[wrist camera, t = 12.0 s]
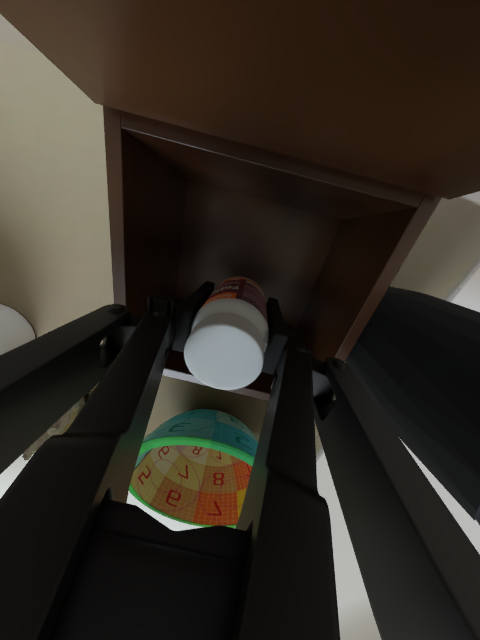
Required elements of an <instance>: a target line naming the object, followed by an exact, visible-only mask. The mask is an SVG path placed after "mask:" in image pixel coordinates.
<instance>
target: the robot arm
mask: <svg viewBox="0 0 480 640" xmlns="http://www.w3.org/2000/svg"><path fill="white" fill-rule="evenodd" d="M214 286H215V283H213V282H209V281H206V282H205V283H203V284H202V285H201V286H200V287H199V288H198V289H197V290H196V291H195V292H194V293H193V294H191V295H190V296H189V297H188V298H187V299H183V298H177V299H172V298H170V297H168V296H164V295H152V296H149V297H147V312H146V314H145V315H133V314H131V310H130V308H129V307H128V306H125V305H121V304H112V305H107V306H103V307H101V308H99V309H97V310H95V311H93V312H91V313H89V314H86V315H84V316H82V317H80V318H78V319H76V320H74V321H72V322H70V323H67V324H65V325H63V326H61V327H59V328H57V329H55V330H53V331H51V332H48V333H46V334H44V335H42V336H40V337H38V338H36V339H34V340H31V341H29V342H27V343H25V344H23V345H21V346H19V347H17V348H15V349H12V350H10V351H8V352H6V353H4V354H2V355H0V474H1V473H2V472H3V471H4V470H5V469H6V468H8V467H9V466H10V465H11V464H12V463H13V462H14V461H15V460H16V459H17V458H18V457H19V456H20V455H21V454H23V453H24V452H25V451H26V450H27V449H28V448H29V447H30V446H31V445H32V444H33V443H34V442H35V441H36V440H38V439H39V438H40V437H41V436H42V435H43V434H44V433H45V432H46V431H47V430H48V429H49V428H50V427H51V426H52V425H54V424H55V423H56V422H57V421H58V420H59V419H60V418H61V417H62V416H63V415H64V414H65V413H66V412H67V411H69V410H70V409H71V408H72V407H73V406H74V405H75V404H76V403H77V402H78V401H79V400H80V399H81V398H82V397H83V396H85V395H86V394H87V393H88V392H89V391H90V390H91V389H92V388H93V387H94V386H95V385H96V384H97V383H98V382H99V384H98V385H97V387H96V388H95V390H94V391H93V393H92V394H91V396H90V397H89V398H88V400H87V401H86V403H85V404H84V406H83V407H82V409H81V410H80V412H79V413H78V415H77V416H76V418H75V419H74V421H73V422H72V424H71V425H70V427H69V428H68V429H67V430H66V432H64V433H63V434H61V435H53V436H51V437H50V438H48V439H47V440H46V441H45V442H44V443H43V444H42V445H41V446H40V447H39V448H38V450H37V451H36V452H35V453H34V455H33V456H32V458H31V459H30V460H29V462H28V463H27V464H26V466H25V467H24V468H23V470H22V471H21V472H20V474H19V475H18V476H17V478H16V479H15V480H14V482H13V483H12V484H11V486H10V487H9V488H8V490H7V491H6V492H5V494H4V495H3V496H2V498H1V499H0V640H340V631H339V620H338V607H337V596H336V584H335V572H334V560H333V548H332V536H331V524H330V515H329V509H328V505H327V502H326V500H325V499H324V498H323V497H321V496H320V495H319V493H318V490H317V476H316V450H315V425H314V419H315V423H316V426H317V429H318V433H319V436H320V439H321V443H322V446H323V449H324V453H325V456H326V459H327V462H328V466H329V469H330V472H331V476H332V479H333V482H334V486H335V489H336V492H337V496H338V499H339V502H340V506H341V509H342V512H343V515H344V519H345V522H346V525H347V529H348V532H349V535H350V539H351V542H352V545H353V548H354V552H355V555H356V558H357V562H358V565H359V568H360V572H361V575H362V578H363V582H364V585H365V588H366V591H367V595H368V598H369V601H370V605H371V608H372V612H373V615H374V618H375V621H376V624H377V627H378V630H379V633H380V636H381V639H382V640H480V555H479V554H478V552H477V550H476V549H475V547H474V546H473V545H472V543H471V542H470V540H469V539H468V537H467V536H466V534H465V533H464V531H463V530H462V529H461V527H460V526H459V524H458V523H457V521H456V520H455V519H454V517H453V515H452V514H451V513H450V511H449V510H448V508H447V507H446V505H445V504H444V502H443V501H442V500H441V498H440V497H439V495H438V494H437V492H436V491H435V489H434V488H433V487H432V485H431V484H430V482H429V481H428V479H427V478H426V476H425V475H424V474H423V472H422V470H421V469H420V468H419V466H418V465H417V463H416V462H415V460H414V459H413V458H412V456H411V455H410V453H409V452H408V450H407V449H406V447H405V446H404V445H403V443H402V442H401V440H400V439H399V437H398V436H397V434H396V433H395V431H394V430H393V428H392V427H391V425H390V424H389V423H388V421H387V420H386V418H385V417H384V415H383V414H382V412H381V411H380V410H379V408H378V407H377V405H376V404H375V402H374V401H373V399H372V398H371V396H370V395H369V394H368V392H367V391H366V389H365V388H364V386H363V385H362V383H361V382H360V380H359V379H358V378H357V376H356V375H355V373H354V372H353V370H352V369H351V367H350V366H349V365H348V364H346V363H345V362H344V361H343V360H341V359H339V358H335V357H327V358H326V360H325V362H323V361H321V360H318V359H316V358H314V357H312V352H311V350H310V349H309V348H308V347H307V346H305V345H303V344H302V343H301V341H300V338H299V335H298V333H297V330H296V329H295V328H294V327H293V326H291V325H287V324H285V323H284V320H283V316H282V313H281V309H280V306H279V303H278V299H275V298H271V297H269V298H268V301H267V305H266V309H267V317H268V327H269V341H268V345H267V348H266V350H265V352H264V364H263V368H262V371H261V372H265V373H269V374H274V372H275V369H277V373H276V376H275V378H274V381H273V383H272V386H271V389H272V390H271V394H270V398H269V402H268V406H267V410H266V414H265V418H264V422H263V426H262V430H261V434H260V438H259V442H258V446H257V450H256V454H255V458H254V462H253V466H252V470H251V474H250V478H249V482H248V486H247V490H246V494H245V498H244V502H243V505H242V509H241V513H240V516H239V519H238V522H237V525H236V528H231V527H227V526H222V525H217V526H210V527H204V528H197V529H191V530H184V531H172V530H170V529H169V528H167V527H166V526H164V525H163V524H162V523H160V522H159V521H157V520H156V519H154V518H153V517H152V516H150V515H149V514H147V513H146V512H144V511H143V510H142V509H140V508H139V507H137V506H135V505H131V504H127V503H126V502H127V496H128V491H129V486H130V483H131V479H132V476H133V472H134V469H135V466H136V462H137V459H138V455H139V452H140V449H141V445H142V442H143V439H144V435H145V432H146V428H147V425H148V422H149V418H150V415H151V412H152V408H153V405H154V401H155V398H156V395H157V391H158V388H159V385H160V381H161V378H162V374H163V371H164V368H165V364H166V361H167V358H168V354H169V346H170V345H171V344H172V342H173V346H172V350H176V351H180V352H184V347H185V344H186V341H187V339H188V337H189V336H190V334H191V328H192V323H193V320H194V317H195V315H196V313H197V311H198V310H199V309H200V308H201V306H202V305H203V304H204V303H205V302H206V300H207V299H208V297H209V296H210V295H211V293H212V292H213V291H214ZM102 340H103V344H101V345H100V343H101V341H102ZM335 397H336V400H334V399H335Z"/></svg>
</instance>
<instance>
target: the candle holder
mask: <svg viewBox="0 0 480 640" xmlns="http://www.w3.org/2000/svg"><path fill="white" fill-rule="evenodd" d="M34 339H35V333H34V331H33V328H32V327H31V325H30V324H29V322H28V321H27V320H26V319H25V318H24V317H23V316H22V315H21V314H20V313H18V312H17V311H15V310H14V309H12V308H10V307H8V306H5V305H2V304H0V355H2V354H4V353H6V352H8V351H10V350H12V349H15V348H17V347H19V346H21V345H23V344H25V343H27V342H29V341H31V340H34Z"/></svg>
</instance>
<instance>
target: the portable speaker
mask: <svg viewBox="0 0 480 640" xmlns="http://www.w3.org/2000/svg"><path fill="white" fill-rule="evenodd" d="M345 361H346V363H347V364H348V365H349V366H350V367H351V369H352V370H353V372H354V373H355V375H356V376H357V378H358V379H359V380H360V382H361V383H362V385H363V386H364V388H365V389H366V391H367V392H368V394H369V395H370V396H371V398H372V399H373V401H374V402H375V404H376V405H377V407H378V408H379V410H380V411H381V412H382V414H383V415H384V417H385V418H386V420H387V421H388V423H389V424H390V425H391V427H392V428H393V430H394V431H395V433H396V434H397V436H398V437H399V438H400V439H401V440H402V441H403V442H404V443H405V444H406V445H407V447H408V448H409V449H410V450H411V451H412V452H413V453H414V454H415V455H416V456H417V458H418V459H419V460H420V461H421V462H422V463H423V464H424V465H425V466H426V468H427V469H428V470H429V471H430V472H431V473H432V474H433V475H434V476H435V477H436V478H437V480H438V481H439V482H440V483H441V484H442V485H443V486H444V487H445V489H447V491H448V492H449V493H450V494H451V495H452V496H453V497H454V498H455V500H456V501H457V502H458V503H459V504H460V505H461V506H462V507H463V508H464V509H465V510H466V512H467V513H468V514H469V515H470V516H471V517H472V518H473V519H474V520H475V519H476V520H477V522H478V523H479V525H480V313H479V312H477V311H474V310H471V309H468V308H465V307H462V306H459V305H456V304H453V303H451V302H448V301H445V300H442V299H439V298H436V297H433V296H430V295H427V294H423V293H419V292H415V291H410V290H405V289H399V288H394V287H389V288H388V289H387V291H386V293H385V294H384V296H383V298H382V299H381V301H380V303H379V304H378V306H377V308H376V309H375V311H374V313H373V315H372V316H371V318H370V320H369V321H368V323H367V325H366V326H365V328H364V330H363V331H362V333H361V335H360V336H359V338H358V340H357V342H356V343H355V345H354V347H353V348H352V350H351V352H350V353H349V355H348V357H347V358H346V360H345Z"/></svg>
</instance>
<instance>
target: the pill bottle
mask: <svg viewBox="0 0 480 640" xmlns="http://www.w3.org/2000/svg"><path fill="white" fill-rule="evenodd" d="M268 341H269V327H268V317H267V309H266V300H265V296H264V293H263V291H262V289H261V288H260V287H259V286H258V285H257V284H256V283H255V282H254V281H252V280H250V279H248V278H245V277H231V278H228V279H226V280H224V281H222V282H221V283H220V284H219V285H218V286H217V287H216V289H215V290H214V291H213V292H212V293H211V295H210V296H209V297H208V299H207V300H206V302H205V303H204V304H203V305H202V306H201V308H200V309H199V310H198V311H197V313H196V315H195V317H194V320H193V323H192V328H191V334H190V336H189V337H188V339H187V341H186V344H185V347H184V359H185V363H186V365H187V367H188V369H189V371H190V372H191V373H192V374H193V375H194V376H195V377H196V378H197V379H198V380H199V381H200V382H202V383H204V384H206V385H208V386H210V387H213V388H216V389H222V390H234V389H239V388H242V387H245V386H247V385H249V384H250V383H252V382H253V381H254V380H255V379H256V378H257V377H258V376H259V374H260V373H261V371H262V368H263V364H264V352H265V350H266V348H267V345H268Z"/></svg>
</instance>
